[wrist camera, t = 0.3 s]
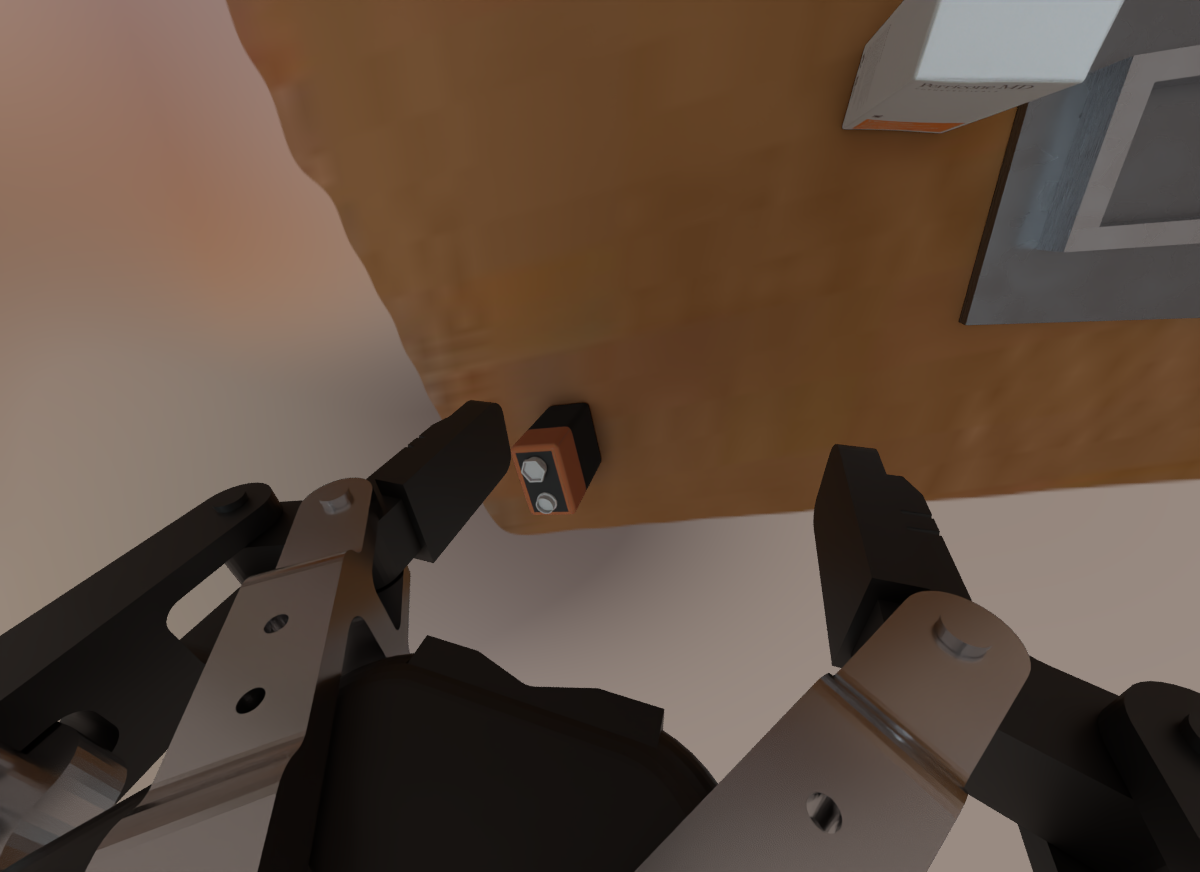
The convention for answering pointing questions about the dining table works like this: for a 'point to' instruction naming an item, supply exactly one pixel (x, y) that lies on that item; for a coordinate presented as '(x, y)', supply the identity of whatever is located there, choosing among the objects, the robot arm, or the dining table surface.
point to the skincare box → (973, 60)
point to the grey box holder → (1102, 186)
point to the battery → (557, 459)
